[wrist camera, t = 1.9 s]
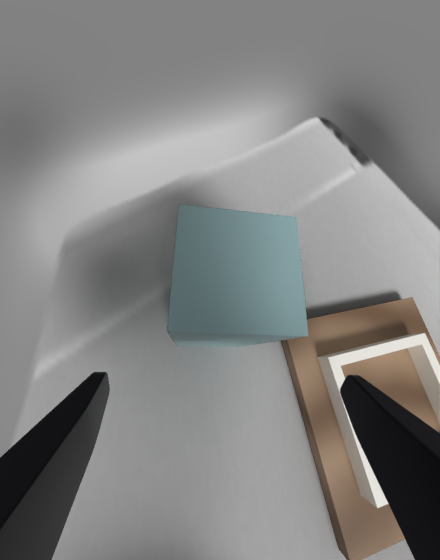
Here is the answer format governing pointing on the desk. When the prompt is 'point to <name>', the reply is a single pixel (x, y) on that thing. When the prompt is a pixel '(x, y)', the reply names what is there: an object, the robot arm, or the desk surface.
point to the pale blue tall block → (235, 279)
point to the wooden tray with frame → (334, 418)
